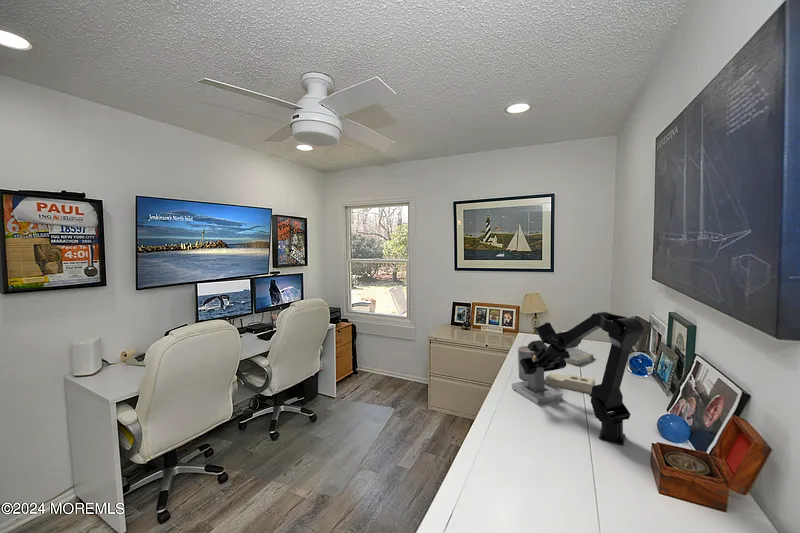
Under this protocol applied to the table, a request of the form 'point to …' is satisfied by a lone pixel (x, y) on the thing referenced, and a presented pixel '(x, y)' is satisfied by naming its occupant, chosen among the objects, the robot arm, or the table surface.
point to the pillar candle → (523, 353)
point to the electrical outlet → (571, 382)
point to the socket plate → (540, 397)
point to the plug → (536, 379)
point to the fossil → (578, 356)
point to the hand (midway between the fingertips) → (533, 372)
